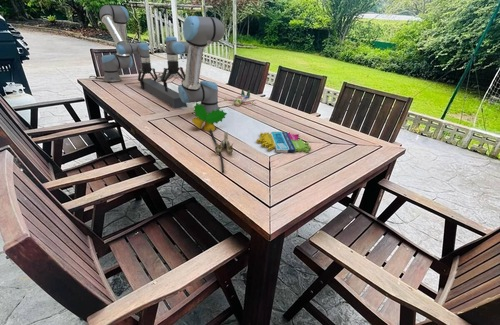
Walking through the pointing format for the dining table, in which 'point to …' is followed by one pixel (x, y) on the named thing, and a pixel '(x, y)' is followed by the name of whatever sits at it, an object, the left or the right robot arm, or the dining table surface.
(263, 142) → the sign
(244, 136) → the dining table surface
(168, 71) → the airplane
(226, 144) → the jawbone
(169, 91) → the wide beam
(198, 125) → the ornament
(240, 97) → the toy
